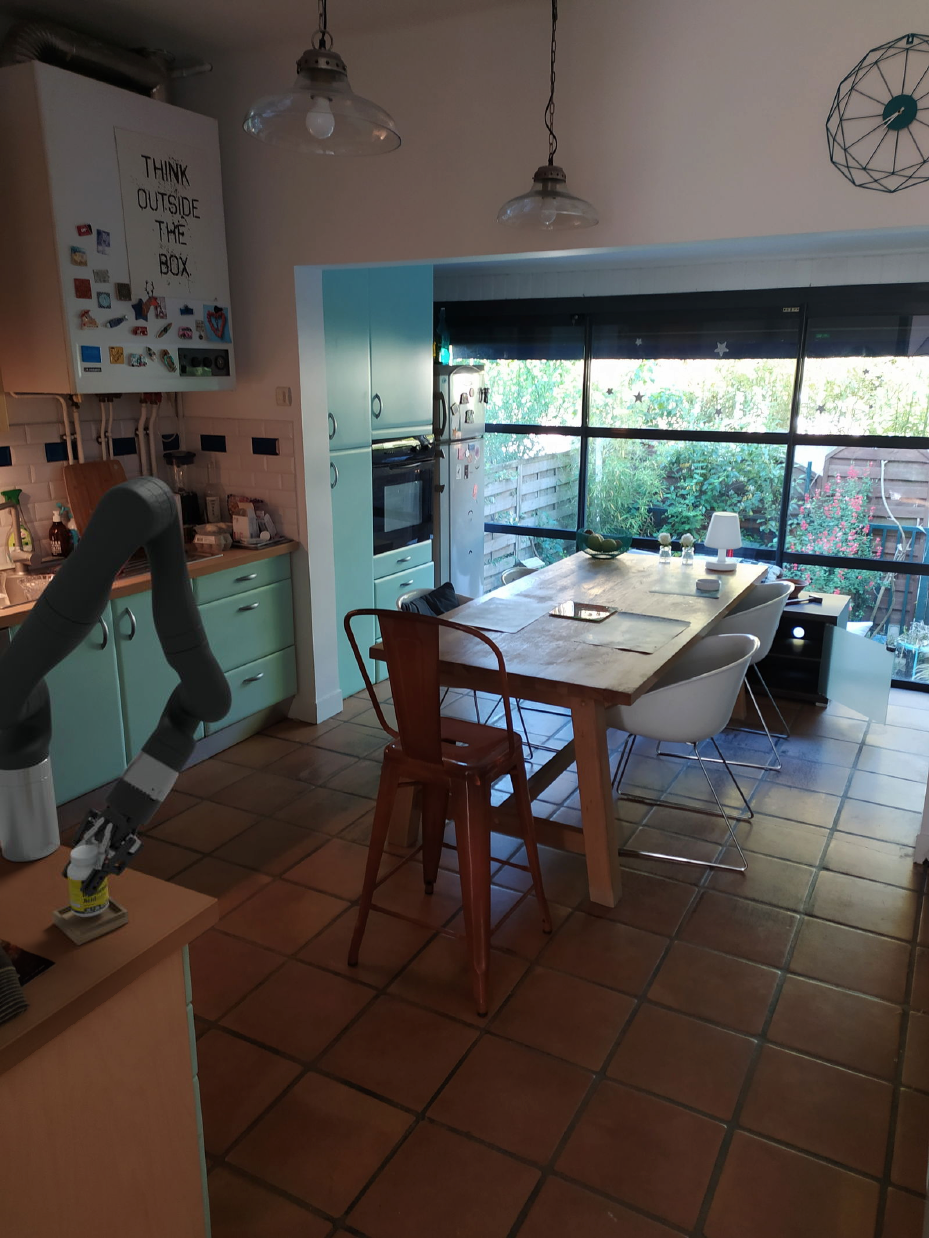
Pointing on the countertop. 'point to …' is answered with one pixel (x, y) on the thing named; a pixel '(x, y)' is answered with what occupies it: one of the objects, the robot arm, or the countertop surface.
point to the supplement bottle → (77, 874)
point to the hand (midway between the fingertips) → (76, 885)
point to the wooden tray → (90, 922)
